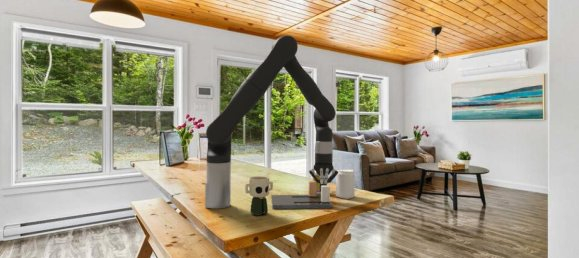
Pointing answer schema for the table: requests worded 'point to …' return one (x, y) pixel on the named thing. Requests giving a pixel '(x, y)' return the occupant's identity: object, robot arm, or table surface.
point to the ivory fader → (325, 193)
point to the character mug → (259, 193)
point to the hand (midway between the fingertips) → (323, 192)
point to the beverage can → (345, 183)
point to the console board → (298, 202)
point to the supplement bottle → (317, 183)
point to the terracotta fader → (312, 188)
